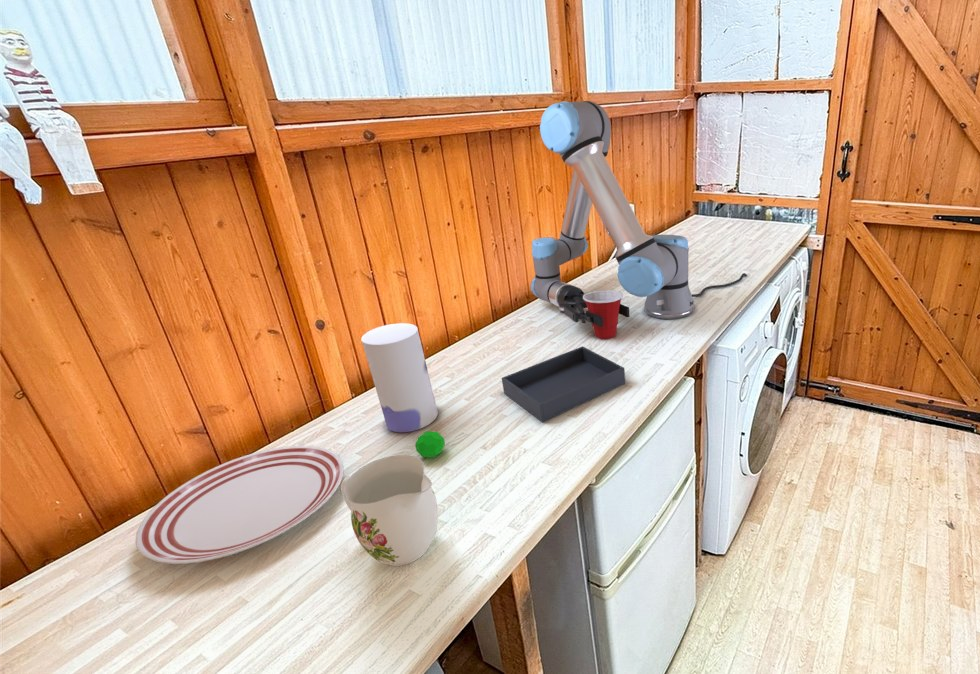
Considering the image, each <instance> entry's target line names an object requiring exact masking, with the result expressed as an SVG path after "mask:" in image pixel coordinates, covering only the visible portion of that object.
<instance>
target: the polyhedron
mask: <svg viewBox="0 0 980 674" xmlns="http://www.w3.org/2000/svg"><path fill="white" fill-rule="evenodd" d="M445 444H446V441H445V437H443V436H442V434H440V432H438V431H432V430H431V431H430V430H427V431H424V432H423V433H422V434H420V435H419V436H418V437H417V438H416V442H415V445H414V447H415V450H416V452H417V454H419V455H420V456H421V457H422V458H430V459H431V458H432V459H433V458H435V457H436V456H437V455H439V454H441V453H442V451H443V449H444V447H445Z"/></svg>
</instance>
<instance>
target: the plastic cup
mask: <svg viewBox="0 0 980 674" xmlns="http://www.w3.org/2000/svg"><path fill="white" fill-rule="evenodd" d="M584 294H585V295H583V299H584V301H585V303H586V305H587V308H586V309H587V311H589V312H590V313H594V314H597V315H599V316H602V317H603V327H600V326H597V325H595V324H593V323H591V326H592V328H593V333H594V336H595V337H596V338H597V339H600V340H610V339H613V338H615V337H616V335H617V330H618V324H619V315H620V314H619V306H620V304H622V303H621V302H622V298H623V295H624V294H623V293H622V292H621V291H617V290H610V289H609V290H607V289H606V290H595V291H590V292H587V293H584Z"/></svg>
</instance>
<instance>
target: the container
mask: <svg viewBox="0 0 980 674" xmlns="http://www.w3.org/2000/svg"><path fill="white" fill-rule="evenodd" d="M360 339H361V344H362V347H363V351H364V354H365V358H366V360H367V364H368V367H369V371H370V375H371V378H372V381H373V385H374V388H375V390H376V395H377V398H378V401H379V404H380V408H381V412H382V415H383V418H384V421H385V425H386V427H387V429H388V430H390V431H391V432H394V433H410V432H414V431H418V430H421V429H423V428H425V427H427V426H429V425H430V424H431V423H433V422H434V421H435V420H436V419H437V417H438V415H439V410H438V407H437V403H436V399H435V394H434V390H433V387H432V382H431V378H430V374H429V371H428V370H429V369H428V366H427V363H426V359H425V353H424V350H423V345H422V341H421V337H420V334H419V329H418V326H416V325H415V324H412V323H406V322H403V323H402V322H398V323H390V324H385V325H380V326H377V327H375V328H372V329H370V330H369V331H367V332H365V333H364V334H363V335H362V337H361V338H360Z"/></svg>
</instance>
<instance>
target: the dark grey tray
mask: <svg viewBox="0 0 980 674" xmlns="http://www.w3.org/2000/svg"><path fill="white" fill-rule="evenodd" d="M501 383H502V389H503V394H504V395H505V396H507V397H508V398H509V399H511V400H512V401H513V402H514V403H516V404H517V405H518V406H520V407H521V408H523V409H524V410H525V411H526V412H528V413H529V414H531V416H533V417H534V418H536V419H537V420H538V421H540V422H541V423H545V422H547V421H549V420H550V419H553V418H556V417H557V416H559V415H561V414H563V413H566V412H567V411H570V410H572V409H574V408H576V407H578V406H580V405H583V404H585V403H587V402H589V401H591V400H593V399H596V398H597V397H600V396H602V395H604V394H606V393H608V392H610V391H612V390H615V389H616V388H618V387H620V386H624V385H625V384H626V373H625V367H624V366H622V365H620V364H617V363H616V362H614V361H611V360H610V359H609V358H606V357H604V356H602V355H601V354H598V353H597V352H594V351H592V350H590V349H589V348H587V347H585V346H579V347H577V348H574V349H572V350H569V351H566V352H563V353H561V354H559V355H557V356H554V357H552V358H549V359H547V360H544V361H541V362H539V363H536V364H533V365H532V366H529V367H526V368H523V369H521V370H518V371H516V372H513V373H511V374H507V375H505V376H503V377H501Z"/></svg>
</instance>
